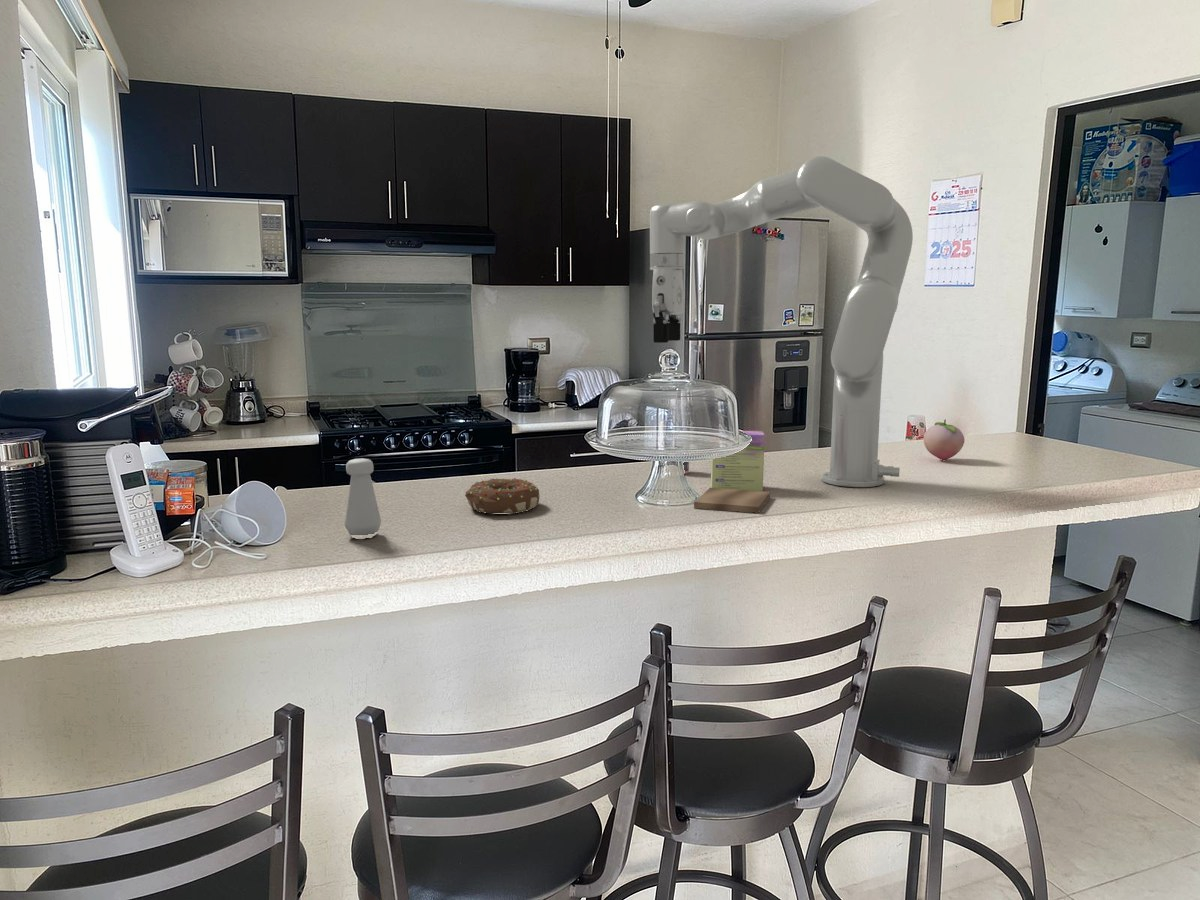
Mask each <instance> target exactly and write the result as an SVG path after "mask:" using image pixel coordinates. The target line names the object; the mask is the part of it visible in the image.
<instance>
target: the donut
mask: <svg viewBox="0 0 1200 900" xmlns="http://www.w3.org/2000/svg"><path fill="white" fill-rule="evenodd" d="M464 496H465V498H466V499H467V503H468V505H469V507H471V509H472V510H473V511H474V510H477V511H476V512H478V511H480V512H479V513H481V512H486V513H516V512H522V511H526V510H530V509H532V508H533V509H534V508H535V507H536V506H537V505H539V501H540V498H541V497H540V496H541V495H540V489H539V488H538V486H537V485H535V484H534V483H533V482H531V481H529V480H527V479H521V478H515V477H514V478H498V477H495V478H490V479H487V480H482V481H476V482H474V484H472V485H471V486H470V488H468V489H467V490H466V491H465V495H464ZM533 509H532V510H533ZM530 511H531V510H530Z"/></svg>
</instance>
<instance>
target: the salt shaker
mask: <svg viewBox="0 0 1200 900" xmlns="http://www.w3.org/2000/svg"><path fill="white" fill-rule="evenodd" d="M373 462H374V461H372V460H371V459H370V458H363V457H361V458H353V459H350V460H348V461H347V462H346V465H345V470H346V474H347V475H349V476H350V482H349V490H348V494H347V495H348V496H347V501H346V502H347V503H346V509H345V518H344V527H345V528H346V530H347V533H349V535H350V536H351V535H368V534H374V533H375V532H377V531H378V532H379V530H380V528H381V525H382V519H381V515H380V511H379V506H378V501H377V497H376V494H375V489H374V485H373V480H372V477H371V474H372V473H373V472H374V463H373Z"/></svg>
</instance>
